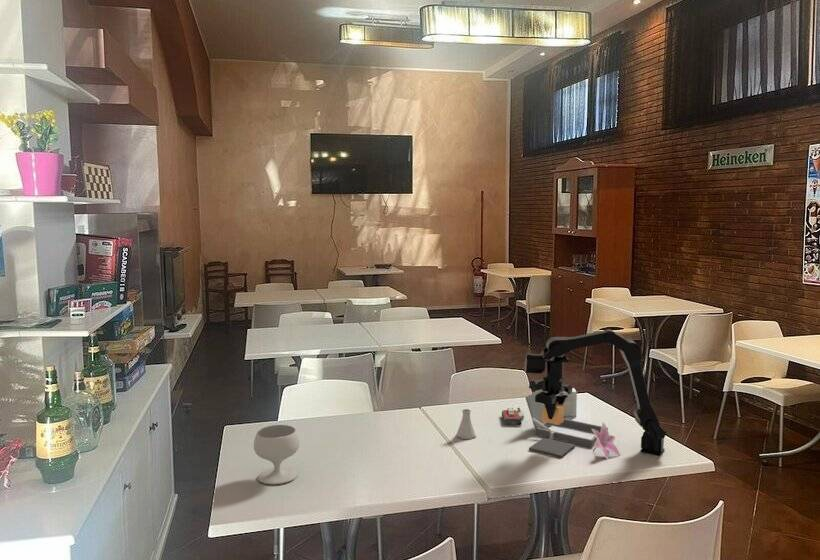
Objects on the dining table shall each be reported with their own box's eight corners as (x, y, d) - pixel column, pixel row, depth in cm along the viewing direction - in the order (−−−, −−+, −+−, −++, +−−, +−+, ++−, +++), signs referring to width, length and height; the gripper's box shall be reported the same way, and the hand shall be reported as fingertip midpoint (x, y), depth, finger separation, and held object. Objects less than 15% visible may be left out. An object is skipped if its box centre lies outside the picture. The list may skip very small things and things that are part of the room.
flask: (479, 438, 223) (479, 411, 222) (461, 440, 220) (462, 414, 219) (470, 431, 230) (470, 406, 229) (453, 434, 227) (453, 408, 226)
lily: (587, 463, 203) (601, 442, 199) (575, 438, 213) (588, 418, 209) (616, 470, 206) (631, 450, 202) (603, 445, 216) (617, 425, 212)
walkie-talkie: (526, 427, 235) (521, 411, 255) (526, 416, 235) (521, 401, 255) (503, 427, 236) (500, 411, 256) (503, 416, 235) (500, 400, 255)
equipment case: (607, 434, 227) (608, 398, 226) (590, 448, 213) (591, 410, 211) (543, 420, 242) (543, 386, 241) (523, 433, 228) (523, 397, 227)
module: (563, 421, 212) (564, 405, 212) (558, 425, 209) (558, 408, 208) (547, 418, 216) (548, 401, 215) (542, 421, 212) (542, 404, 212)
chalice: (258, 468, 196) (257, 424, 195) (302, 467, 197) (301, 422, 196) (250, 487, 182) (249, 439, 181) (297, 486, 183) (296, 438, 182)
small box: (574, 412, 252) (574, 387, 251) (576, 416, 247) (577, 391, 246) (554, 411, 253) (555, 387, 252) (556, 416, 248) (557, 391, 247)
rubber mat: (575, 447, 214) (575, 444, 213) (561, 458, 204) (561, 455, 204) (543, 440, 221) (543, 437, 221) (529, 450, 211) (529, 447, 211)
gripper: (544, 365, 223) (543, 406, 224) (521, 375, 208) (520, 419, 210) (573, 370, 216) (572, 412, 218) (551, 380, 201) (550, 426, 203)
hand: (553, 417), depth 212 cm, fingers closed on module, 4 cm apart
